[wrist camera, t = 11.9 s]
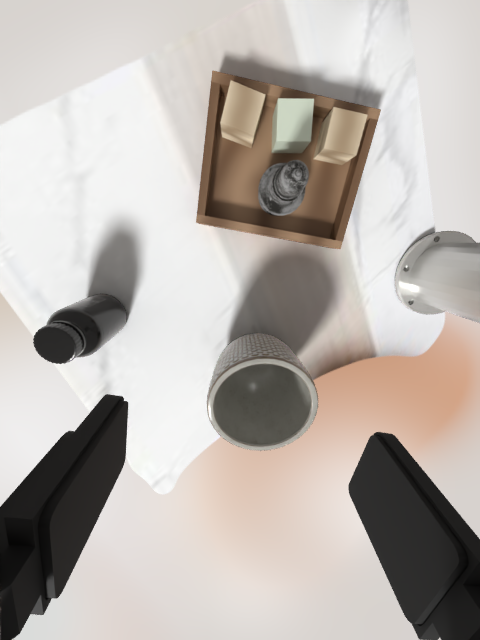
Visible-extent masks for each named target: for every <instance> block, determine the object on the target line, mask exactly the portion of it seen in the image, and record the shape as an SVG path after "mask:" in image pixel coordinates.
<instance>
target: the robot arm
mask: <svg viewBox="0 0 480 640" xmlns="http://www.w3.org/2000/svg"><path fill="white" fill-rule="evenodd" d="M395 289H396V293H397V296H398V298H399V300H400V301H401V302H402V304H403V305H405V306H406V307H407V308H408V309H410V310H412V311H415V312H418V313H421V314H438V313H442V312H445V311H446V312H449V313H452V314H455V315H458V316H461V317H463V318H466V319H469V320H472V321H476V322H479V323H480V243H476V242H475V241H474V240H473V239H472V238H471V237H469V236H468V235H466V234H464V233H460V232H456V231H442V232H437V233H433V234H430V235H428V236H426V237H424V238H422V239H421V240H419V241H417V242H416V243H415V244H414V245H413V246H412V247H410V249H409V250H408V251H407V252H406V253H405V255H404V256H403V258H402V259H401V261H400V263H399V266H398V268H397V271H396V275H395ZM127 418H128V402H127V401H124V398H123V397H122V396H115V395H108V394H107V395H105V396H104V397H103V398H102V399H101V400H100V401H99V403H98V404H97V405H96V406H95V408H94V409H93V410H92V411H91V412H90V414H89V415H88V416H87V417H86V418H85V420H84V421H83V422H82V423H81V424H80V426H79V427H78V428H77V429H76V430H75V432H74V431H68V432H66V433H65V434H64V435H63V436H62V437H61V438H60V439H59V440H58V442H57V443H56V444H55V445H54V446H53V447H52V448H51V450H50V451H49V452H48V453H47V454H46V455H45V456H44V457H43V459H42V460H41V461H40V462H39V463H38V464H37V465H36V467H35V468H34V469H33V470H32V471H31V472H30V474H29V475H28V476H27V477H26V478H25V479H24V480H23V482H22V483H21V484H20V485H19V486H18V487H17V488H16V489H15V491H14V492H13V493H12V494H11V495H10V496H9V498H8V499H7V500H6V501H5V502H4V503H3V504H2V506H1V507H0V640H14V638H15V637H16V636H17V635H18V634H20V632H21V630H22V628H23V627H24V625H25V623H26V621H27V619H28V617H29V616H30V614H37V615H43V614H44V613H45V611H46V609H47V607H48V605H49V603H50V601H51V599H52V598H58V597H59V596H60V594H61V593H62V591H63V589H64V587H65V585H66V583H67V581H68V579H69V577H70V575H71V573H72V571H73V569H74V567H75V565H76V563H77V561H78V558H79V556H80V554H81V552H82V550H83V548H84V546H85V544H86V542H87V540H88V538H89V536H90V534H91V532H92V530H93V528H94V526H95V524H96V522H97V520H98V517H99V515H100V513H101V511H102V509H103V507H104V505H105V503H106V501H107V499H108V497H109V495H110V492H111V491H112V489H113V487H114V484H115V482H116V480H117V478H118V476H119V474H120V472H121V470H122V468H123V465H124V462H125V456H126V437H127ZM349 494H350V497H351V499H352V501H353V503H354V505H355V508H356V510H357V512H358V514H359V516H360V519H361V521H362V523H363V525H364V527H365V530H366V532H367V534H368V536H369V538H370V540H371V543H372V545H373V547H374V549H375V551H376V554H377V556H378V558H379V560H380V563H381V565H382V567H383V569H384V571H385V574H386V576H387V578H388V580H389V582H390V584H391V587H392V589H393V591H394V593H395V595H396V597H397V600H398V602H399V604H400V607H401V609H402V611H403V613H404V615H405V617H406V618H407V620H408V621H409V622H410V623H412V625H413V627H414V629H415V631H416V633H417V636H418V638H419V639H420V640H421V639H422V640H438V639H439V637H440V638H441V640H480V539H479V538H478V537H477V535H476V534H475V533H474V532H473V530H472V529H471V528H470V527H469V526H468V525H467V523H466V522H465V521H464V520H463V519H462V517H461V516H460V515H459V514H458V512H457V511H456V510H455V509H454V507H453V506H452V505H451V504H450V502H449V501H448V500H447V499H446V498H445V496H444V495H443V494H442V493H441V492H440V490H439V489H438V488H437V487H436V485H435V484H434V483H433V482H432V481H431V479H430V478H429V477H428V476H427V474H426V473H425V472H424V471H423V470H422V468H421V467H420V466H419V465H418V463H417V462H416V461H415V460H414V459H413V458H412V456H411V455H410V454H409V453H408V451H407V450H406V449H405V448H404V446H403V445H402V444H401V443H400V442H399V441H398V439H397V438H396V437H395V436H394V435H393V434H388V433H381V432H376V433H374V435H372V436H371V437H370V438H369V440H368V443H367V445H366V447H365V450H364V452H363V454H362V456H361V458H360V461H359V463H358V465H357V467H356V469H355V472H354V474H353V476H352V478H351V481H350V483H349Z"/></svg>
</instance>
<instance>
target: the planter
mask: <svg viewBox="0 0 480 640" xmlns="http://www.w3.org/2000/svg"><path fill="white" fill-rule="evenodd" d="M317 408H318V395H317V391H316V388H315V385H314V382H313V380H312V378H311V376H310V375H309V373H308V371H307V370H306V368H305V367H304V366H303V364H302V363H301V361H300V360H299V359H298V357H297V356H296V355H295V354H294V352H293V351H292V350H291V349H290V348H289V347H288V346H287V345H286V344H285V343H284V342H282V341H281V340H279V339H278V338H276V337H273V336H271V335H267V334H262V333H253V334H247V335H244V336H241V337H239V338H237V339H235V340H234V341H232V342H231V343H230V344H229V345H228V346H227V347H226V348H225V349H224V351H223V352H222V354H221V355H220V357H219V359H218V362H217V364H216V367H215V369H214V372H213V376H212V379H211V383H210V387H209V391H208V395H207V411H208V416H209V419H210V422H211V424H212V426H213V427H214V429H215V430H216V431H217V433H218V434H219V435H220V436H221V437H223V438H224V439H225V440H227V441H228V442H229V443H231V444H234V445H236V446H238V447H241V448H245V449H249V450H260V451H261V450H271V449H276V448H280V447H283V446H285V445H287V444H290V443H292V442H293V441H295V440H296V439H298V438H299V437H300V436H301V435H303V434H304V433H305V432H306V430H307V429H308V428H309V427H310V425H311V424H312V422H313V421H314V418H315V416H316V413H317Z"/></svg>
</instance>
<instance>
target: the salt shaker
mask: <svg viewBox="0 0 480 640" xmlns="http://www.w3.org/2000/svg"><path fill="white" fill-rule="evenodd" d="M308 179H309V171H308V168H307V166H306V165H305V163H304V162H302V161H300V160H292V161H289V162H288V163H278V164H275V165H272V166H271V167H270V168H268V169H267V170H266V171H265V173H264V174H263V175H262V177H261V179H260V183H259V187H258V200H259V204H260V205H261V207H262V209H263V210H264V211H265V212H266V213H268V214H270V215H274V216H284V215H287V214H290V213H292V212H293V211H295V210H296V209H297V208H298V207H299V206H300V204H301V203H302V201H303V199H304V195H305V187H306V185H307V183H308Z"/></svg>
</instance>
